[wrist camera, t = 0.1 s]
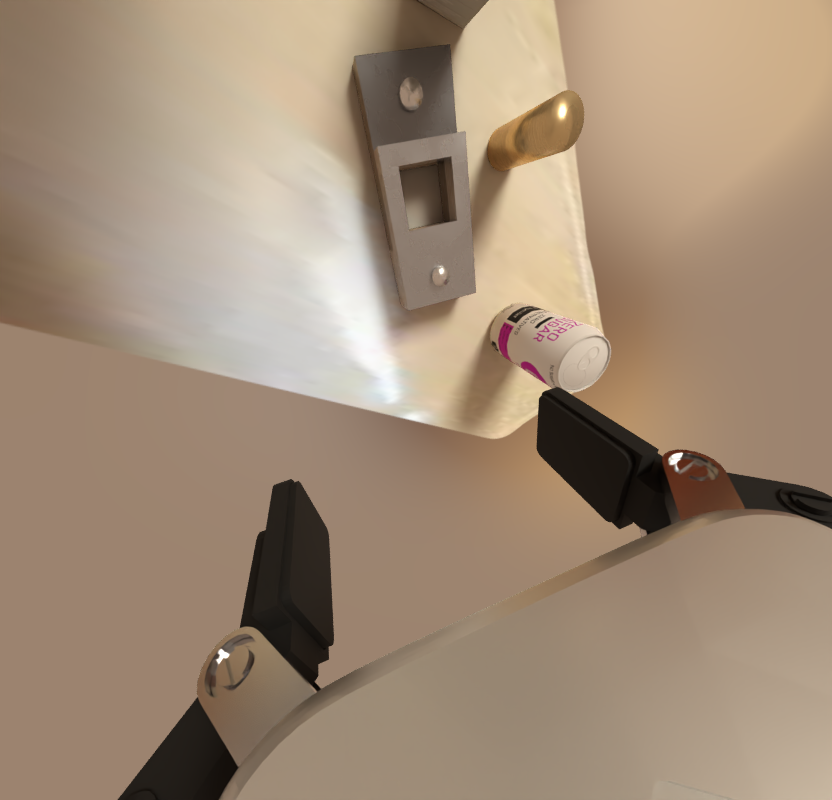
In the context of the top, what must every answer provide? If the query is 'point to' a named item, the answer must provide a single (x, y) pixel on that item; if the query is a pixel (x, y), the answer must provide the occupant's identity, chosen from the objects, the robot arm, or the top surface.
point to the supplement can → (551, 346)
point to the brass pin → (538, 132)
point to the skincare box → (456, 9)
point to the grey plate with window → (412, 148)
